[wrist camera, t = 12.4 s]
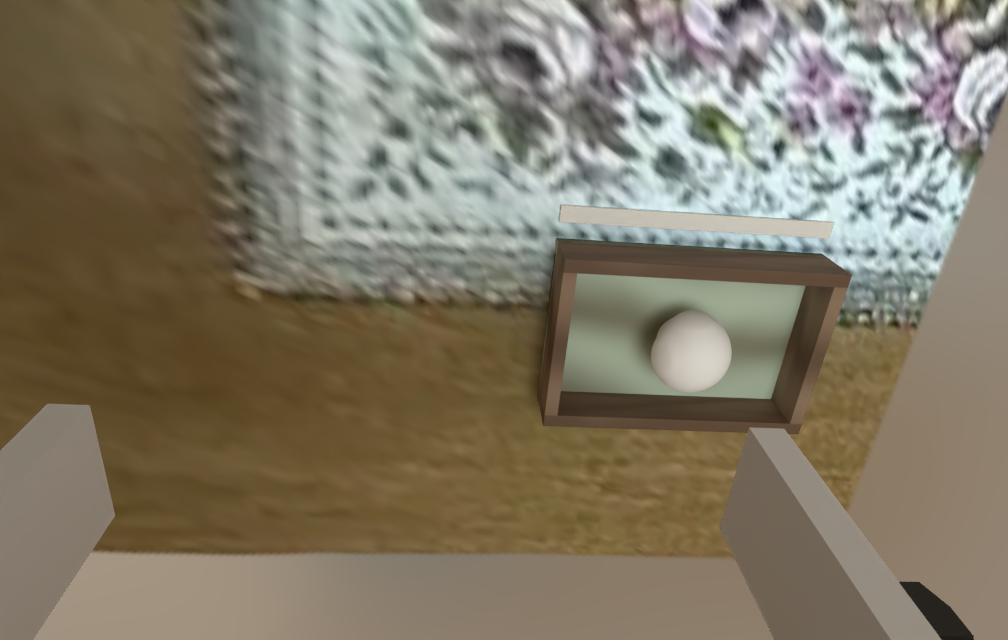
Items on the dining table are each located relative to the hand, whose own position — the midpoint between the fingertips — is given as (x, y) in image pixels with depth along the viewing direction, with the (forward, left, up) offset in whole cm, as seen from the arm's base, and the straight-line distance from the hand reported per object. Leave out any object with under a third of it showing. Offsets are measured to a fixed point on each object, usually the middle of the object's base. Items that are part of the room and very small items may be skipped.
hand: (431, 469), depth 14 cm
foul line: (+2, +15, -27) cm, 31 cm away
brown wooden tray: (+10, +15, -27) cm, 32 cm away
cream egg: (+10, +15, -26) cm, 32 cm away
